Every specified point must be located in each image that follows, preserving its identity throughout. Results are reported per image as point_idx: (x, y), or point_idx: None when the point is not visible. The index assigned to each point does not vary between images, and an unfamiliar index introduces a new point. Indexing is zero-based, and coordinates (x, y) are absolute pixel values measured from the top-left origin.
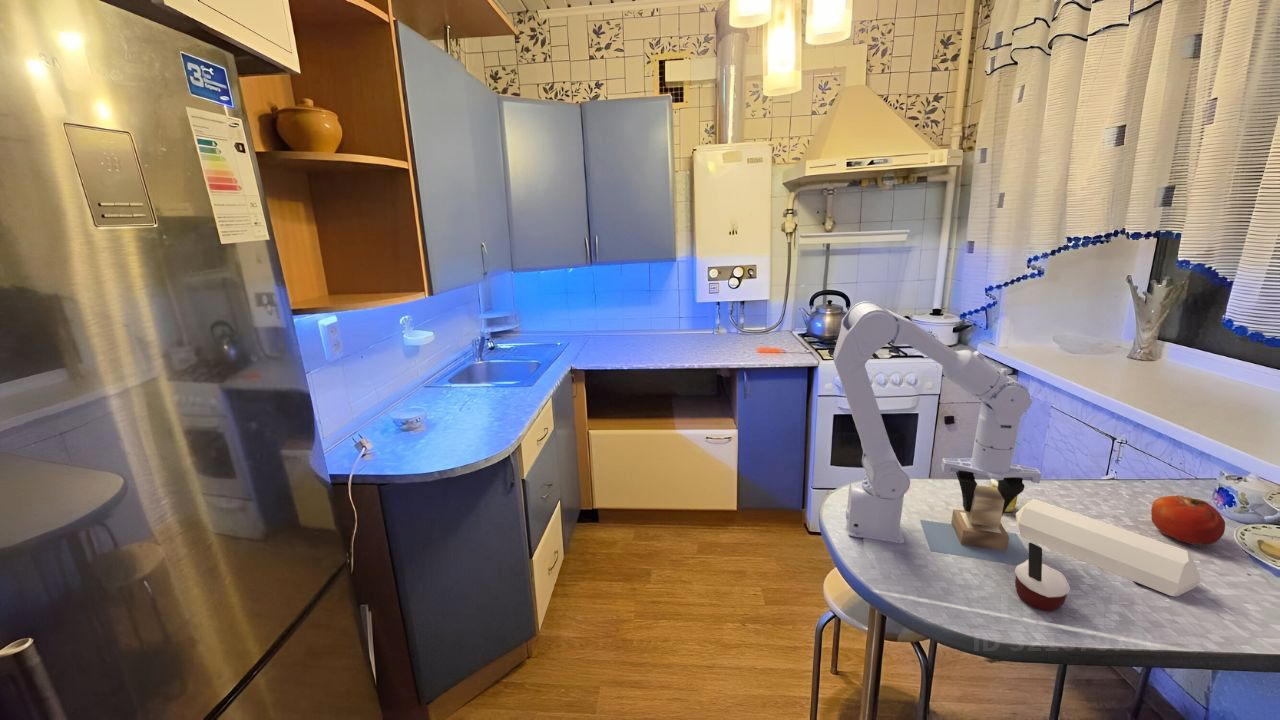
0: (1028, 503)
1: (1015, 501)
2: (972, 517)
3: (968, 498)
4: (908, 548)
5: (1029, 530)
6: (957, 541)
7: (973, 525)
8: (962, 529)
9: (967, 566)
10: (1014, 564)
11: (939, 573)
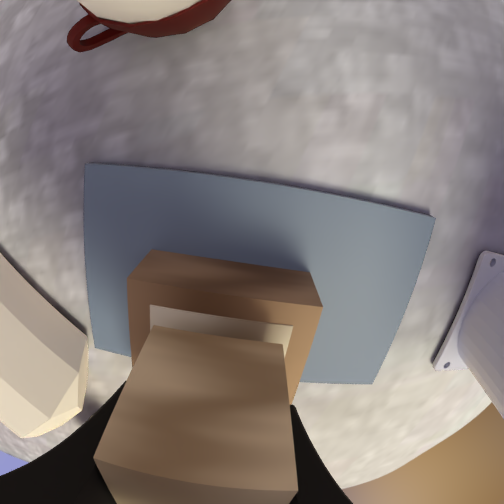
0: (36, 427)
1: None
2: (281, 368)
3: (315, 471)
4: (474, 235)
5: (57, 344)
6: None
7: None
8: (318, 315)
9: (338, 146)
10: (153, 169)
11: (443, 107)
